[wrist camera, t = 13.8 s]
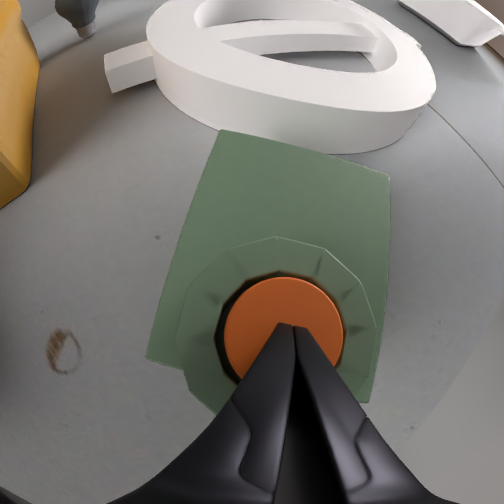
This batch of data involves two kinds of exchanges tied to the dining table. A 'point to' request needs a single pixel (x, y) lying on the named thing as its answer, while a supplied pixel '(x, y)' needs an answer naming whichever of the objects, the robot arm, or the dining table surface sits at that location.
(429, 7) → the tub
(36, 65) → the bread
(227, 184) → the control block
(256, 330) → the button
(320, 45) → the white circle with bar
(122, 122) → the dining table surface
